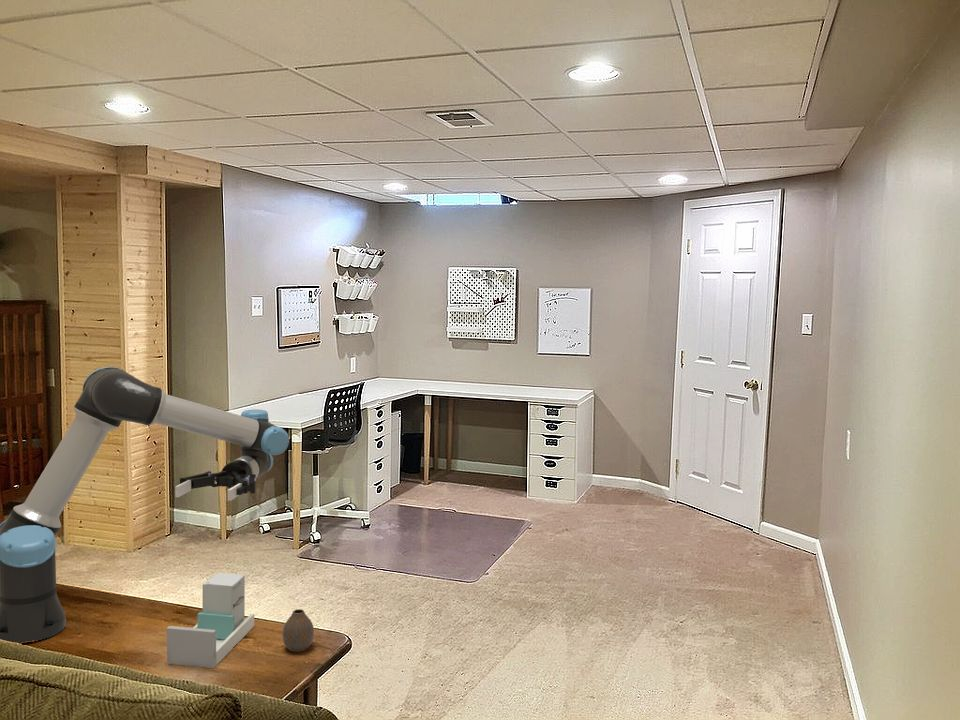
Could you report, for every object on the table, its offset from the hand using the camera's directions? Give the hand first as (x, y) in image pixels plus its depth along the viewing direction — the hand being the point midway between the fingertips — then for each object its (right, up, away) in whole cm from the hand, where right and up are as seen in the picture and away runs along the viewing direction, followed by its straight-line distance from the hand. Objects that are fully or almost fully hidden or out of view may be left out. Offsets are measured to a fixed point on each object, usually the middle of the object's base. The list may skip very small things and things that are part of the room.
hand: (202, 493), depth 194 cm
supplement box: (+8, -31, -9) cm, 33 cm away
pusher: (+8, -31, -13) cm, 34 cm away
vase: (+27, -33, -15) cm, 45 cm away
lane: (+7, -32, -14) cm, 36 cm away
